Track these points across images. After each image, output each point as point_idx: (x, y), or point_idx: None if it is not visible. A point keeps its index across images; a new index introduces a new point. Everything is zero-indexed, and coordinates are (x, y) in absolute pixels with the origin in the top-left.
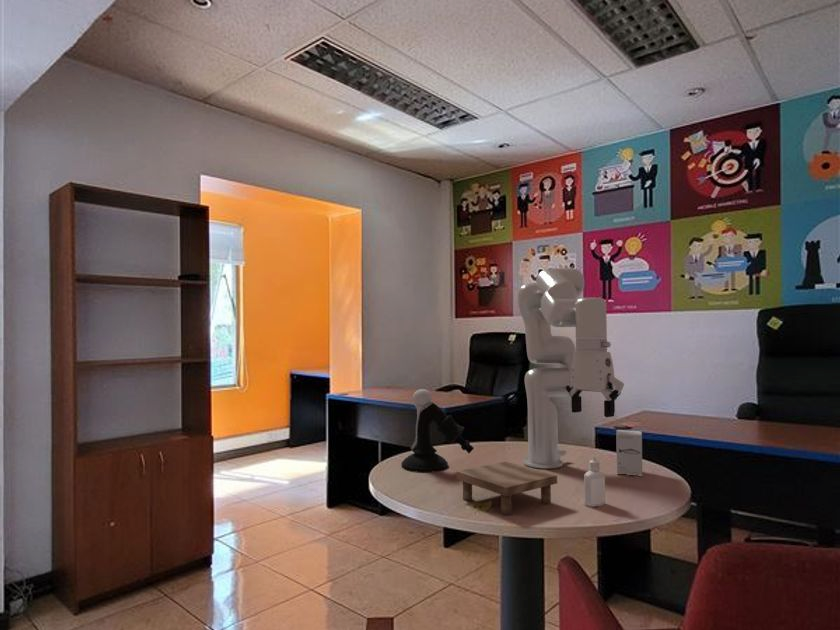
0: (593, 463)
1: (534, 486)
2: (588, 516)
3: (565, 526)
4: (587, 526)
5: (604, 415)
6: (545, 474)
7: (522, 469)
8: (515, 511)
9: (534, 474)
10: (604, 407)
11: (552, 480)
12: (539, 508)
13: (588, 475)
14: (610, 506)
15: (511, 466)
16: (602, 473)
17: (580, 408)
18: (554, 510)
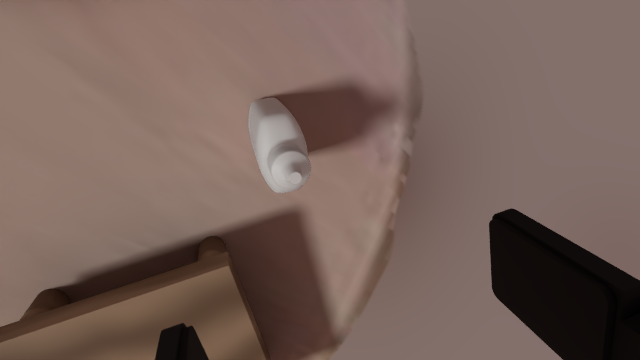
0: (303, 182)
1: (259, 335)
2: (337, 201)
3: (364, 276)
4: (383, 237)
5: (499, 298)
6: (204, 293)
7: (115, 337)
8: None
9: (193, 324)
10: (548, 341)
11: (235, 276)
12: (246, 279)
13: (294, 189)
14: (298, 98)
15: (58, 358)
16: (299, 132)
17: (194, 355)
18: (272, 253)
